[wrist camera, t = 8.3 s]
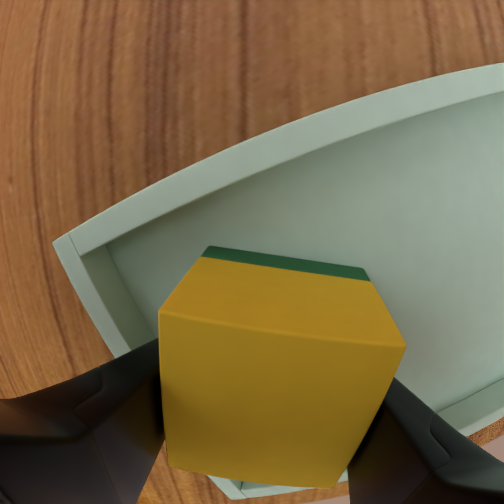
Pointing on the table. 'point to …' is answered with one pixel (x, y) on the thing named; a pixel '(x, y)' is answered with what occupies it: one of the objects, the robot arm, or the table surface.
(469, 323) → the tray
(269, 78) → the table surface
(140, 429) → the robot arm
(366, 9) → the table surface
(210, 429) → the sponge
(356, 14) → the table surface
